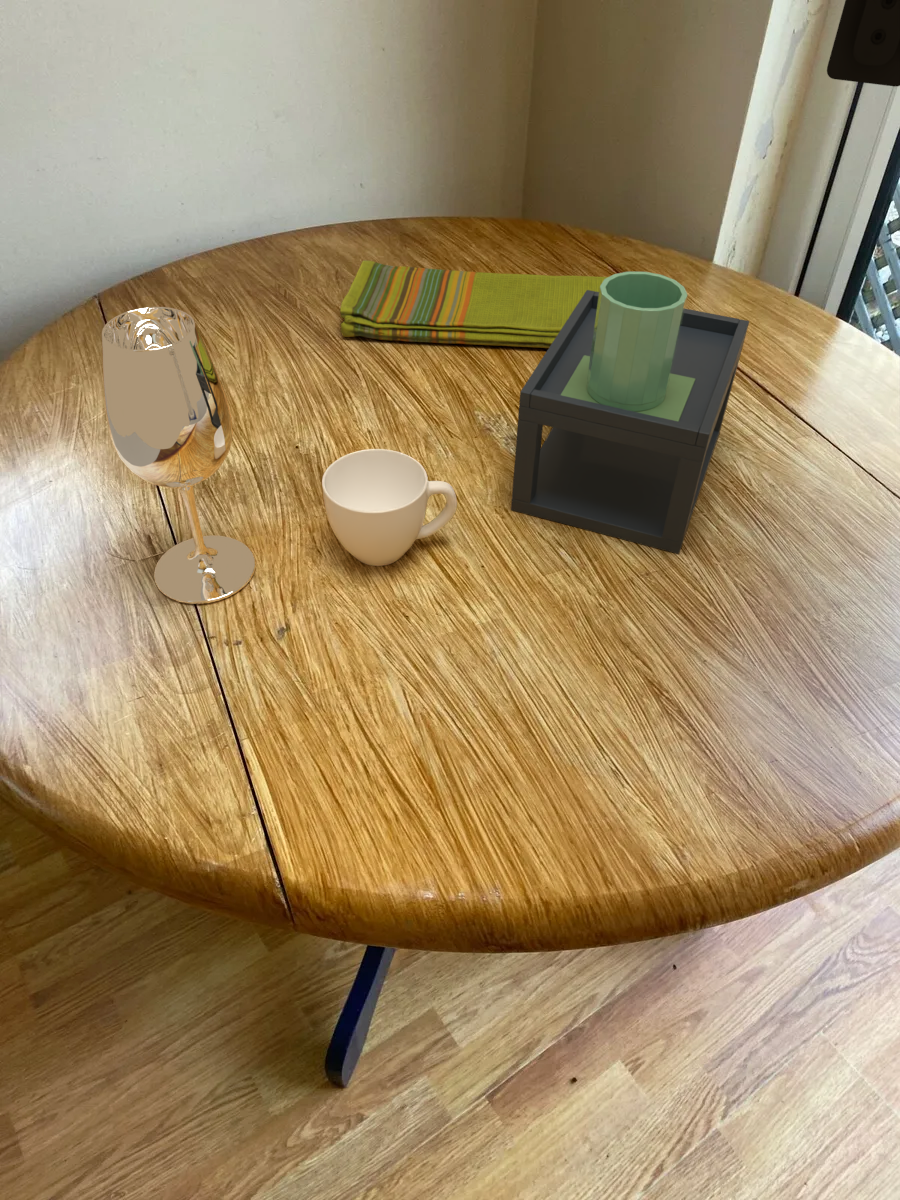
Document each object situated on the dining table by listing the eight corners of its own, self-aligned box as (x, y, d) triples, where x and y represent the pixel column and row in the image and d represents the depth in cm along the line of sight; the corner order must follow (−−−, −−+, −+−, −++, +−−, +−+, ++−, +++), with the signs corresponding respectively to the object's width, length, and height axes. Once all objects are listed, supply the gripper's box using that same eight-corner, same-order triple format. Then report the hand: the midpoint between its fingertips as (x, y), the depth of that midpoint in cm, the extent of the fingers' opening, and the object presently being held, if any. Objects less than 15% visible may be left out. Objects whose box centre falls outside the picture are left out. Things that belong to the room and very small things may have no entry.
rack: (719, 434, 83) (749, 320, 75) (678, 554, 71) (709, 434, 63) (572, 401, 87) (586, 289, 79) (510, 510, 75) (520, 391, 67)
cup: (326, 521, 73) (319, 452, 69) (448, 511, 74) (449, 442, 70) (331, 586, 68) (324, 516, 63) (463, 574, 69) (466, 504, 64)
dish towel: (360, 275, 105) (358, 247, 103) (671, 291, 103) (676, 263, 101) (338, 340, 94) (335, 311, 92) (684, 360, 92) (691, 330, 90)
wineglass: (226, 617, 65) (170, 370, 51) (132, 591, 67) (54, 346, 53) (275, 549, 71) (237, 309, 57) (187, 527, 72) (129, 289, 58)
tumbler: (673, 379, 70) (694, 280, 65) (656, 418, 66) (677, 317, 61) (598, 363, 72) (612, 265, 66) (577, 401, 68) (590, 300, 62)
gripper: (1249, -638, 22) (961, 120, 34) (1150, -517, 34) (961, 19, 46) (923, -616, 24) (759, 94, 36) (935, -508, 36) (808, 3, 48)
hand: (872, 52), depth 41 cm, fingers open, 9 cm apart
